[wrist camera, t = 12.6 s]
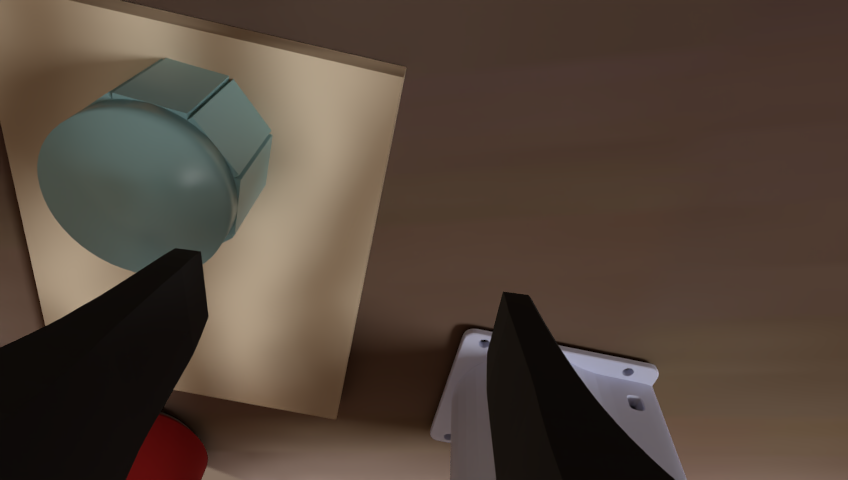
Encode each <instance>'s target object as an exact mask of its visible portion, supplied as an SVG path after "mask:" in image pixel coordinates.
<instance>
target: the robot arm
mask: <svg viewBox="0 0 848 480" xmlns="http://www.w3.org/2000/svg"><path fill="white" fill-rule="evenodd" d="M208 317H209V315H208V307H207V298H206V290H205V281H204V273H203V264H202V255H201V251H194V250H187V249H179V248H174V249H173V250H171V251H169V252H168V253H166V254H164V255H163V256H161V257H160V258H158V259H157V260H155V261H153V262H152V263H150V264H149V265H147V266H146V267H144V268H143V269H141V270H140V271H138V272H137V273H135V274H133V275H132V276H130V277H129V278H127V279H126V280H124V281H122V282H121V283H119V284H118V285H116V286H115V287H113V288H111V289H110V290H108V291H107V292H105V293H103V294H102V295H100V296H98V297H97V298H95V299H93V300H91V301H90V302H88V303H86V304H84V305H83V306H81V307H79V308H77V309H76V310H74V311H72V312H71V313H69V314H67V315H65V316H64V317H62V318H60V319H58V320H56V321H54V322H52V323H51V324H49V325H47V326H45V327H43V328H41V329H39V330H37V331H35V332H33V333H31V334H29V335H26V336H24V337H22V338H20V339H18V340H16V341H14V342H12V343H9V344H7V345H5V346H3V347H1V348H0V480H126V479H127V476H128V474H129V472H130V470H131V467H132V465H133V463H134V461H135V458H136V456H137V454H138V452H139V450H140V448H141V446H142V444H143V442H144V440H145V438H146V436H147V434H148V433H149V431H150V429H151V427H152V426H153V424H154V422H155V420H156V419H157V417H158V415H159V414H160V412H161V410H162V408H163V407H164V405H165V403H166V402H167V400H168V398H169V396H170V395H171V393H172V391H173V389H174V388H175V386H176V384H177V383H178V381H179V379H180V377H181V376H182V374H183V372H184V370H185V369H186V367H187V365H188V363H189V361H190V360H191V358H192V356H193V354H194V352H195V350H196V347H197V345H198V343H199V340H200V338H201V335H202V333H203V330H204V328H205V325H206V322H207V320H208ZM481 340H488V341H486V342H482V341H481ZM627 368H630V369H628V370H624V369H627ZM658 375H659V373H658V370H657V368H656V366H655V365H653V364H650V363H645V362H640V361H635V360H630V359H625V358H620V357H615V356H610V355H605V354H600V353H595V352H590V351H585V350H580V349H575V348H570V347H565V346H560V345H558V344H557V342H556V341H555V339H554V338H553V336H552V334H551V333H550V331H549V329H548V328H547V326H546V324H545V322H544V321H543V319H542V317H541V315H540V314H539V312H538V310H537V308H536V306H535V305H534V303H533V301H532V299H531V298H530V297H529V295H524V294H516V293H509V292H503V294H502V298H501V302H500V306H499V309H498V313H497V317H496V321H495V325H494V328H493V332H490V331H485V330H480V329H468V330H467V331H465V332H464V334H463V336H462V339H461V342H460V345H459V348H458V351H457V354H456V357H455V359H454V362H453V365H452V368H451V371H450V374H449V377H448V380H447V382H446V385H445V388H444V391H443V394H442V397H441V400H440V402H439V405H438V408H437V411H436V414H435V417H434V420H433V423H432V425H431V429H430V436H431V437H432V438H433V439H434V440H437V441H443V442H448V443H451V460H450V480H687V479H686V476H685V473H684V471H683V468H682V465H681V463H680V460H679V457H678V455H677V452H676V449H675V446H674V444H673V441H672V438H671V436H670V433H669V430H668V428H667V425H666V422H665V420H664V417H663V414H662V411H661V409H660V406H659V403H658V401H657V398H656V395H655V393H654V390H653V387H652V386H653V384H654V382H655V381H656V379H657V378H658Z"/></svg>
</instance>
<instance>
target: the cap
mask: <svg viewBox="0 0 848 480" xmlns="http://www.w3.org/2000/svg"><path fill="white" fill-rule="evenodd" d="M270 132H271V129H270V128H269V126H268V125H267V124H266V122H265V121H264V120H263V118H262V117H261V116H260V114H259V113H258V112H257V110H256V109H255V107H254V106H253V105H252V103H251V102H250V101H249V99H248V98H247V97H246V95H245V94H244V93H243V91H242V90H241V88H240V87H239V86H238V84H237V83H236V82H235V80H234V79H233V80H231V81H229V76H228V75H224V74H221V73H217V72H214V71H210V70H207V69H203V68H200V67H196V66H193V65H189V64H186V63H182V62H179V61H176V60H172V59H169V58H165V59H164V60H163V59H160V60H158V61H157V62H155V63H154V64H152V65H151V66H149V67H147V68H146V69H144V70H143V71H141V72H139V73H138V74H136V75H135V76H133V77H132V78H130V79H128V80H127V81H125V82H124V83H122V84H121V85H119V86H117V87H116V88H114V89H113V90H111V91H109V92H108V93H106V94H105V95H103V96H102V97H100V98H99V99H97V100H96V101H94V102H93V103H91V104H90V105H88V106H87V107H85V108H84V109H82V110H81V111H79V112H78V113H76V114H74V115H73V116H71V117H70V118H68V119H67V120H65V121H63V122H62V123H60V124H59V125H58V126H57V127H55V128H54V129H53V130H52V131H51V132H50V134H49V135H48V136H47V137H46V139H45V141H44V142H43V144H42V146H41V149H40V152H39V155H38V163H37V173H38V181H39V186H40V189H41V192H42V195H43V198H44V200H45V202H46V204H47V206H48V208H49V210H50V211H51V213H52V214H53V216H54V218H55V219H56V220H57V222H58V223H59V224H60V225H61V227H62V228H63V229H64V230H65V231H66V232H67V233H68V234H69V235H70V236H71V237H72V238H73V239H74V240H75V241H76V242H78V243H79V244H80V245H81V246H82V247H84V248H85V249H87V250H88V251H89V252H91V253H92V254H94V255H96V256H97V257H99V258H101V259H102V260H104V261H106V262H108V263H110V264H113V265H115V266H118V267H120V268H123V269H126V270H129V271H133V272H138V271H140V270H141V269H143V268H144V267H146V266H147V265H149V264H150V263H152V262H153V261H155V260H157V259H158V258H160V257H161V256H163V255H164V254H166V253H168V252H169V251H171V250H173V249H174V248H179V249H187V250H194V251H201V255H202V264H204V263H205V262H207V261H208V260H209V259H210V258H211V257H212V256H213V255H214V254H215V253H216V252H217V250H218V249H219V247H220V246H221V244H222V243H224V242H226V241H228V240H230V239H232V238H233V236H234V235H235V234H236V232H237V230H238V229H239V227H240V226H241V224H242V222H243V221H244V219H245V217H246V216H247V214H248V213H249V211H250V209H251V208H252V206H253V204H254V203H255V201H256V200H257V198H258V196H259V195H260V193H261V191H262V190H263V188H264V187H265V185H266V179H267V172H268V165H269V158H270V150H271V143H272V136H273V135H272V134H269V133H270Z"/></svg>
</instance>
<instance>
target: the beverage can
mask: <svg viewBox="0 0 848 480" xmlns="http://www.w3.org/2000/svg"><path fill="white" fill-rule="evenodd" d="M207 462H208V457H207V452H206V449H205V447H204V445H203V443H202V442H201V440H200V439H199V438H198V437H197V436H196V435H195V434H194V433H193V432H192V431H191V430H190V429H189V428H188V427H187V426H186V425H185V424H184V423H182V422H181V421H180V420H178V419H176V418H174V417H172V416H170V415H168V414H165V413H163V412H160V414H159V415H158V417H157V419H156V420H155V422H154V424H153V426H152V427H151V429H150V431H149V433H148V434H147V436H146V438H145V440H144V442H143V444H142V446H141V448H140V450H139V452H138V454H137V456H136V458H135V461H134V463H133V465H132V467H131V470H130V472H129V474H128V476H127V479H126V480H201V479H202V476H203V474H204V471H205V469H206V466H207Z"/></svg>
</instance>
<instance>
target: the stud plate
mask: <svg viewBox="0 0 848 480" xmlns="http://www.w3.org/2000/svg"><path fill="white" fill-rule="evenodd" d="M165 58H169V59H172V60H176V61H179V62H182V63H186V64H189V65H193V66H196V67H200V68H203V69H207V70H210V71H214V72H217V73H221V74H224V75H228V76H229V81H231V80H233V79H234V80H235V82H236V83H237V84H238V86H239V87H240V88H241V90H242V91H243V93H244V94H245V95H246V97H247V98H248V99H249V101H250V102H251V103H252V105H253V106H254V107H255V109H256V110H257V112H258V113H259V114H260V116H261V117H262V118H263V120H264V121H265V122H266V124H267V125H268V126H269V128H270V129H271V132H270V133H269V134H272V135H273V136H272V143H271V150H270V158H269V165H268V172H267V179H266V185H265V187H264V188H263V190H262V191H261V193H260V195H259V196H258V198H257V200H256V201H255V203H254V204H253V206H252V208H251V209H250V211H249V213H248V214H247V216H246V217H245V219H244V221H243V222H242V224H241V226H240V227H239V229H238V230H237V232H236V234H235V235H234V236H233V238H232V239H230V240H228V241H226V242H224V243H222V244H221V246H220V247H219V249H218V250H217V252H216V253H215V254H214V255H213V256H212V257H211V258H210V259H209V260H208V261H207V262H205V263H204V264H203V273H204V281H205V290H206V298H207V307H208V315H209V317H208V320H207V322H206V325H205V328H204V330H203V333H202V335H201V338H200V340H199V343H198V345H197V347H196V350H195V352H194V354H193V356H192V358H191V360H190V361H189V363H188V365H187V367H186V369H185V370H184V372H183V374H182V376H181V377H180V379H179V381H178V383H177V384H176V386H175V388H174V389H173V390H177V391H183V392H188V393H194V394H199V395H204V396H210V397H215V398H221V399H226V400H232V401H237V402H242V403H248V404H253V405H259V406H264V407H270V408H275V409H280V410H286V411H291V412H297V413H302V414H308V415H313V416H318V417H324V418H329V419H335V420H336V418H337V414H338V409H339V405H340V400H341V395H342V390H343V385H344V380H345V375H346V370H347V365H348V360H349V355H350V350H351V345H352V340H353V335H354V330H355V325H356V320H357V315H358V310H359V305H360V300H361V294H362V289H363V284H364V279H365V274H366V269H367V264H368V259H369V254H370V249H371V244H372V239H373V234H374V229H375V224H376V219H377V214H378V209H379V204H380V199H381V194H382V189H383V184H384V179H385V174H386V168H387V163H388V158H389V153H390V148H391V143H392V138H393V133H394V128H395V123H396V118H397V113H398V108H399V103H400V98H401V93H402V88H403V83H404V78H405V73H406V68H407V67H404V66H400V65H395V64H391V63H387V62H383V61H378V60H374V59H370V58H365V57H361V56H357V55H353V54H348V53H344V52H340V51H335V50H331V49H327V48H322V47H318V46H314V45H310V44H305V43H301V42H297V41H292V40H288V39H284V38H280V37H275V36H271V35H267V34H262V33H258V32H254V31H249V30H245V29H241V28H237V27H232V26H228V25H224V24H219V23H215V22H211V21H207V20H202V19H198V18H194V17H189V16H185V15H181V14H176V13H172V12H168V11H164V10H159V9H155V8H151V7H146V6H142V5H138V4H134V3H129V2H125V1H121V0H0V123H1V127H2V132H3V136H4V141H5V145H6V150H7V154H8V159H9V163H10V168H11V172H12V177H13V181H14V186H15V191H16V195H17V200H18V204H19V209H20V213H21V218H22V222H23V227H24V231H25V236H26V240H27V245H28V249H29V254H30V259H31V263H32V268H33V272H34V277H35V281H36V286H37V290H38V295H39V299H40V304H41V308H42V313H43V317H44V322H45V326H47V325H49V324H51V323H52V322H54V321H56V320H58V319H60V318H62V317H64V316H65V315H67V314H69V313H71V312H72V311H74V310H76V309H77V308H79V307H81V306H83V305H84V304H86V303H88V302H90V301H91V300H93V299H95V298H97V297H98V296H100V295H102V294H103V293H105V292H107V291H108V290H110V289H111V288H113V287H115V286H116V285H118V284H119V283H121V282H122V281H124V280H126V279H127V278H129V277H130V276H132V275H133V274H135V273H137V272H133V271H129V270H126V269H123V268H120V267H118V266H115V265H113V264H110V263H108V262H106V261H104V260H102V259H101V258H99V257H97V256H96V255H94V254H92V253H91V252H89V251H88V250H87V249H85V248H84V247H82V246H81V245H80V244H79V243H78V242H76V241H75V240H74V239H73V238H72V237H71V236H70V235H69V234H68V233H67V232H66V231H65V230H64V229H63V228H62V227H61V225H60V224H59V223H58V222H57V220H56V219H55V218H54V216H53V214H52V213H51V211H50V210H49V208H48V206H47V204H46V202H45V200H44V198H43V195H42V192H41V189H40V186H39V181H38V173H37V163H38V155H39V152H40V149H41V146H42V144H43V142H44V141H45V139H46V137H47V136H48V135H49V134H50V132H51V131H52V130H53V129H54V128H55V127H57V126H58V125H59V124H60V123H62V122H63V121H65V120H67V119H68V118H70V117H71V116H73V115H74V114H76V113H78V112H79V111H81V110H82V109H84V108H85V107H87V106H88V105H90V104H91V103H93V102H94V101H96V100H97V99H99V98H100V97H102V96H103V95H105V94H106V93H108V92H109V91H111V90H113V89H114V88H116V87H117V86H119V85H121V84H122V83H124V82H125V81H127V80H128V79H130V78H132V77H133V76H135V75H136V74H138V73H139V72H141V71H143V70H144V69H146V68H147V67H149V66H151V65H152V64H154V63H155V62H157V61H158V60H160V59H163V60H164V59H165Z"/></svg>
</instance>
